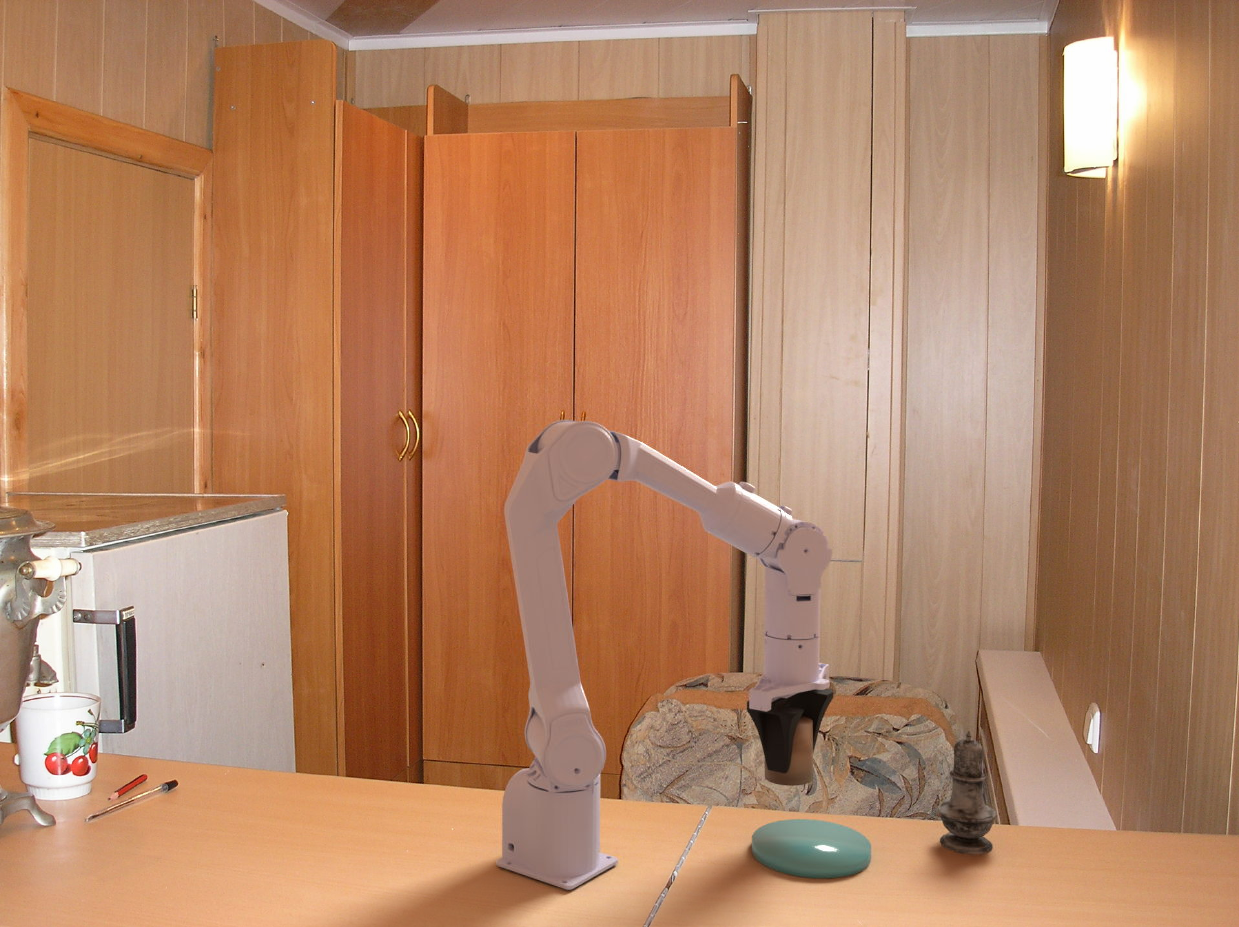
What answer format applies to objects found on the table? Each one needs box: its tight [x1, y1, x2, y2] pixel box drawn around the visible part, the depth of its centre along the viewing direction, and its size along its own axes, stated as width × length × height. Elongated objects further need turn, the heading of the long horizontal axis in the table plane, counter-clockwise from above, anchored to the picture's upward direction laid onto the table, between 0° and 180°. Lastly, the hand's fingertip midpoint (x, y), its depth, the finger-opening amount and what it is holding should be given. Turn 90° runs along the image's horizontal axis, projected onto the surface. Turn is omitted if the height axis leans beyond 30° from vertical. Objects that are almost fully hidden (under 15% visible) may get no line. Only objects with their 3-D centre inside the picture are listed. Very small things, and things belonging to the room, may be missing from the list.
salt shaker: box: [937, 730, 997, 855], centre depth 113 cm, size 6×6×12 cm
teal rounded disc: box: [751, 818, 872, 879], centre depth 111 cm, size 12×12×1 cm
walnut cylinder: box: [764, 716, 814, 787], centre depth 113 cm, size 5×5×6 cm
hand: (790, 763), depth 113 cm, fingers closed on walnut cylinder, 5 cm apart
